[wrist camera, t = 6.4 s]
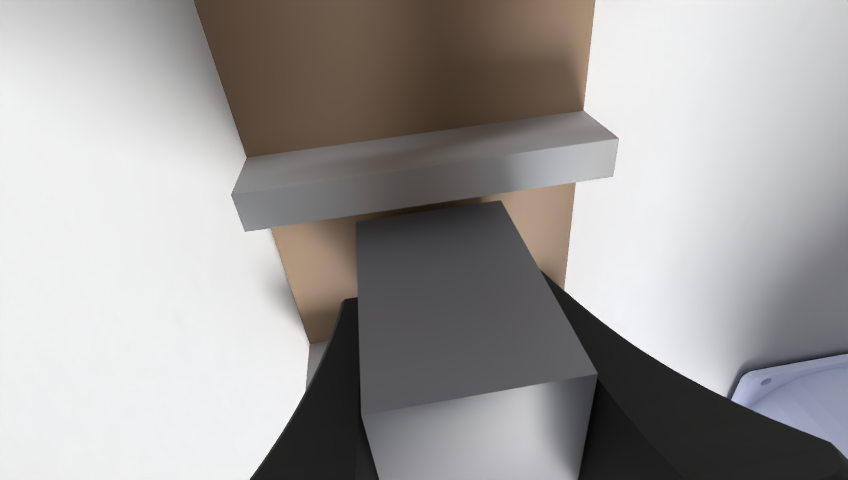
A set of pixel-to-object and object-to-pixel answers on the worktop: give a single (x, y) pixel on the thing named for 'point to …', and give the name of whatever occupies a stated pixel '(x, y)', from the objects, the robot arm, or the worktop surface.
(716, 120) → the worktop surface
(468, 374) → the grey rectangular block
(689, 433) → the robot arm
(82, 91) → the worktop surface
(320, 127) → the end holder
